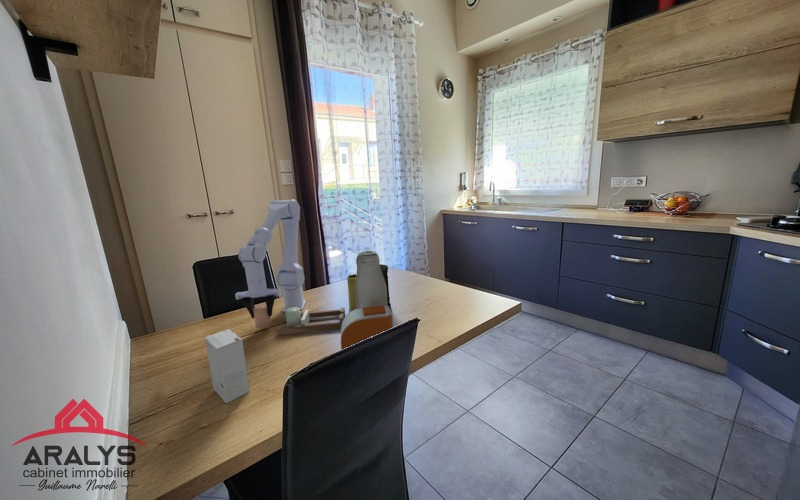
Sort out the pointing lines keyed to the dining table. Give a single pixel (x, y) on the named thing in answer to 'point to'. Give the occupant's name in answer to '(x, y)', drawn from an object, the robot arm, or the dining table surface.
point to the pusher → (307, 318)
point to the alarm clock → (364, 324)
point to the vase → (351, 292)
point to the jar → (261, 316)
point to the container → (386, 281)
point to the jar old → (293, 316)
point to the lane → (316, 326)
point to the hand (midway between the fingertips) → (262, 316)
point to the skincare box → (227, 365)
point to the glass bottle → (369, 281)
